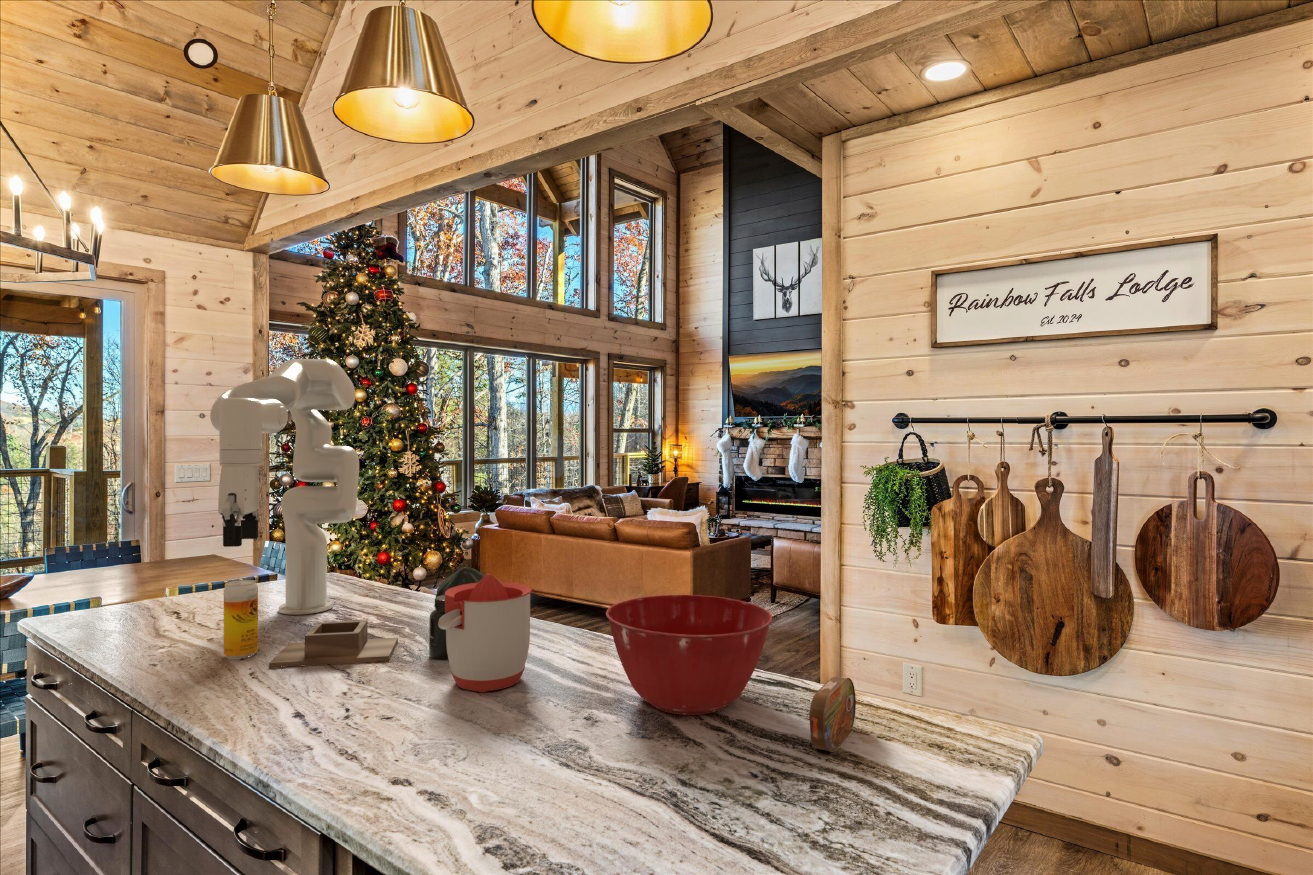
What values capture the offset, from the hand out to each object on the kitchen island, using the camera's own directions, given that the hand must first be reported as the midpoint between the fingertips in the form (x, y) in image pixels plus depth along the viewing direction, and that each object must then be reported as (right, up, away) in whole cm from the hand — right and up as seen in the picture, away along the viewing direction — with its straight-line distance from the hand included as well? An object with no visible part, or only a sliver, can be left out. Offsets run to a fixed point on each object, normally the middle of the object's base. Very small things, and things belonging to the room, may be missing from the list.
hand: (241, 542), depth 146 cm
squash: (+40, -24, +25) cm, 52 cm away
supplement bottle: (+41, -24, +1) cm, 48 cm away
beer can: (0, -23, +1) cm, 24 cm away
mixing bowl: (+90, -24, -22) cm, 96 cm away
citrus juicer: (+53, -24, -14) cm, 60 cm away
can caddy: (+19, -23, +2) cm, 30 cm away
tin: (+111, -25, -38) cm, 120 cm away
